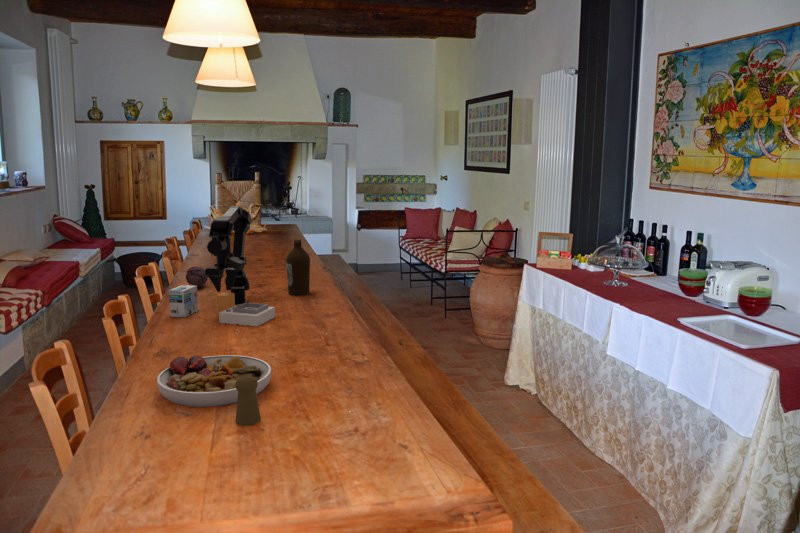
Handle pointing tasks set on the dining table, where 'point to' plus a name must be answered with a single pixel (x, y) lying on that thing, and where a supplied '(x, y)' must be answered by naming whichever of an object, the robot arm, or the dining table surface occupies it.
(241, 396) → the salt shaker
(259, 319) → the white recessed base box
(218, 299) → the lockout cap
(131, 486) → the dining table surface
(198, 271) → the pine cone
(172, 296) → the light bulb box
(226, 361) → the bowl
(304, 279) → the olive oil
